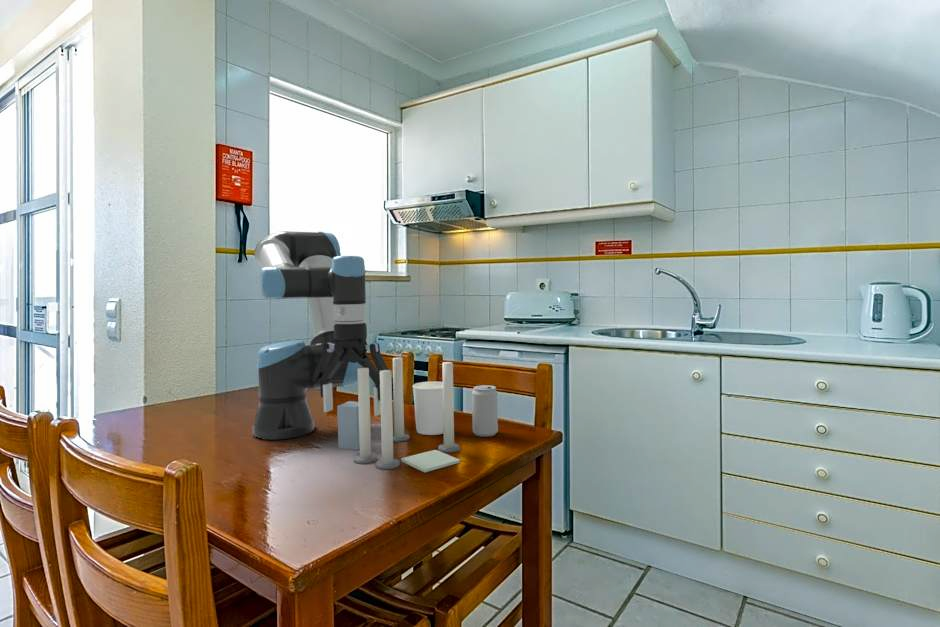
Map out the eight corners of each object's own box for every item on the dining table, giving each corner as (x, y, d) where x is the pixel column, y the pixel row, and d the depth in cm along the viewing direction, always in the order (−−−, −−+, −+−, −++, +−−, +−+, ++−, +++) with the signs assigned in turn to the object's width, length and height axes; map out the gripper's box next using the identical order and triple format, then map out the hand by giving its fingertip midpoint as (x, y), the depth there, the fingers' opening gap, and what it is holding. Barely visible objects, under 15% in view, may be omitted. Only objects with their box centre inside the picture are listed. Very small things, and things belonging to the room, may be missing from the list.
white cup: (456, 427, 138) (456, 382, 137) (443, 437, 129) (442, 389, 128) (423, 424, 141) (422, 380, 140) (407, 434, 132) (406, 387, 131)
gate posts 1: (349, 462, 111) (346, 370, 110) (395, 435, 131) (393, 356, 130) (369, 464, 110) (367, 371, 109) (412, 436, 130) (411, 357, 128)
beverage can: (495, 438, 127) (495, 389, 127) (470, 437, 129) (469, 389, 128) (499, 430, 134) (499, 384, 133) (475, 429, 135) (474, 384, 134)
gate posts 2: (371, 464, 110) (368, 370, 109) (451, 444, 123) (449, 360, 122) (383, 471, 106) (380, 374, 105) (464, 449, 119) (462, 362, 118)
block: (338, 448, 122) (337, 405, 121) (350, 441, 126) (349, 401, 126) (357, 450, 120) (355, 407, 119) (368, 443, 125) (367, 402, 124)
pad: (401, 461, 112) (401, 458, 112) (435, 452, 118) (435, 449, 117) (424, 472, 105) (424, 469, 105) (459, 462, 110) (459, 459, 110)
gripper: (295, 323, 122) (298, 413, 123) (390, 323, 114) (392, 419, 115) (314, 321, 129) (317, 406, 130) (405, 321, 121) (408, 411, 122)
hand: (353, 412), depth 122 cm, fingers open, 13 cm apart
